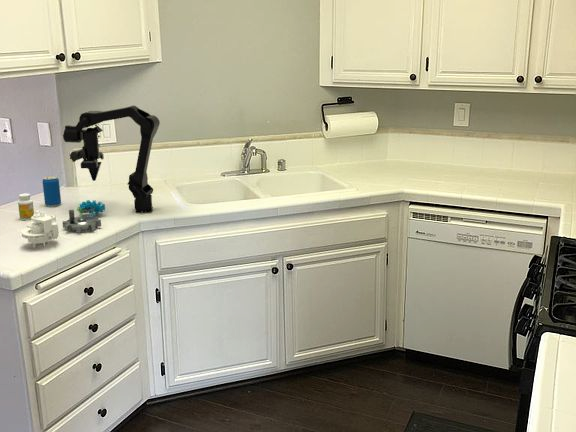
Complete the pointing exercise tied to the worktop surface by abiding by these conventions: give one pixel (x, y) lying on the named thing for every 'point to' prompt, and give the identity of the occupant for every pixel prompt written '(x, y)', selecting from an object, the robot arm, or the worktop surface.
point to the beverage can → (51, 191)
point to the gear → (90, 207)
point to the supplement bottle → (25, 207)
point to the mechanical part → (41, 229)
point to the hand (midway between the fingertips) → (94, 180)
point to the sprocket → (81, 223)
